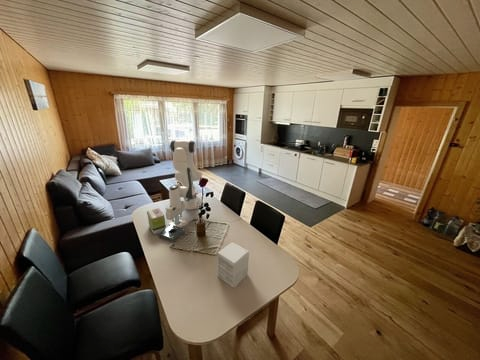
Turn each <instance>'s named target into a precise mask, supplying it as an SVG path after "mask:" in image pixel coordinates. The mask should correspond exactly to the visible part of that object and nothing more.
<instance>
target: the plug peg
mask: <svg viewBox="0 0 480 360" xmlns="http://www.w3.org/2000/svg"><path fill="white" fill-rule="evenodd" d="M179 215H180V214H177V216H176V217H174V220H175V224H177V225H178V224H179V223H180V222H179V219H180V217H179Z"/></svg>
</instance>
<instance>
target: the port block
mask: <svg viewBox="0 0 480 360" xmlns="http://www.w3.org/2000/svg"><path fill="white" fill-rule="evenodd" d="M185 234H186V228H183V227H182V228H181V227H177V226H174V225H170V226H169V225H168V227H166V229H165V230H163V231H162V232H160V233H158V238H159V239H160V240H163V241H167V242H169V243H171V244H174V243H176V242H177V241H178V240H179V239H180V238H181V237H184V235H185Z"/></svg>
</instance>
